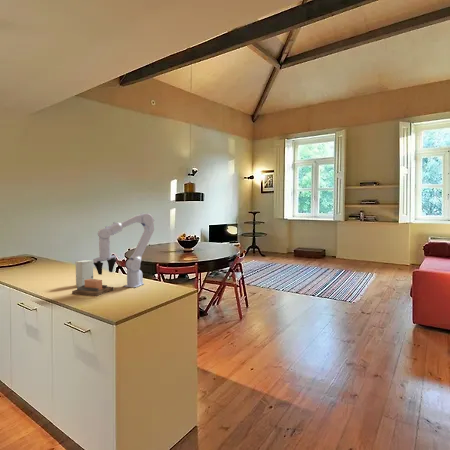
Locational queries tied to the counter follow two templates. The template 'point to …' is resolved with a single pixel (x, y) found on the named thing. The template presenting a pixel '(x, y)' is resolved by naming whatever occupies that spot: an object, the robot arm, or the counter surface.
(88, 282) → the terracotta cardboard box
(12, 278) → the counter surface
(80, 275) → the skincare box
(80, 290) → the display stand
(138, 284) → the robot arm
